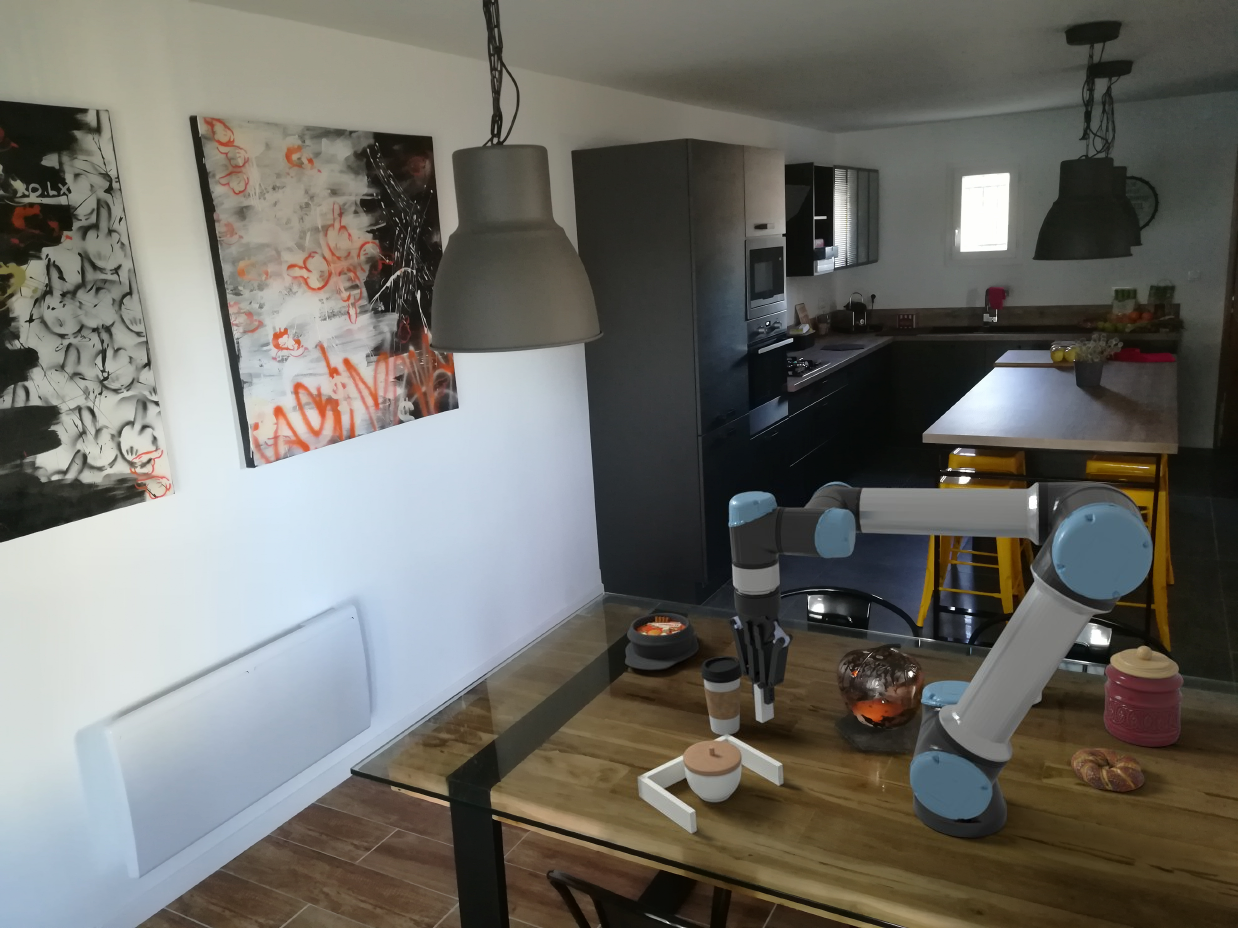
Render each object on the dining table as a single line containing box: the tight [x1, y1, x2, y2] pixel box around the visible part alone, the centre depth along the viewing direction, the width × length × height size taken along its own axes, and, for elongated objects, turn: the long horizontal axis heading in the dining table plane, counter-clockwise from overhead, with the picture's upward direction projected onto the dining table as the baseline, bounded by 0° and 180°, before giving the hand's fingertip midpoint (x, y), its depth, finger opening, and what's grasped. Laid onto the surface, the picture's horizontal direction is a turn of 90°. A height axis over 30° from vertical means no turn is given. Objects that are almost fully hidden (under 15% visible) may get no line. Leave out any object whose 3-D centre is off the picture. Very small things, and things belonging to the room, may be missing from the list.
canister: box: [1103, 645, 1184, 748], centre depth 173 cm, size 13×13×18 cm
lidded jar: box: [682, 739, 742, 803], centre depth 166 cm, size 11×11×9 cm
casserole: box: [624, 612, 700, 671], centre depth 226 cm, size 25×19×8 cm
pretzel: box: [1070, 747, 1145, 793], centre depth 161 cm, size 12×11×4 cm
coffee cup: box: [700, 655, 743, 736], centre depth 188 cm, size 8×8×15 cm
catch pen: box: [637, 734, 784, 835], centre depth 167 cm, size 15×22×4 cm
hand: (764, 718), depth 151 cm, fingers closed
